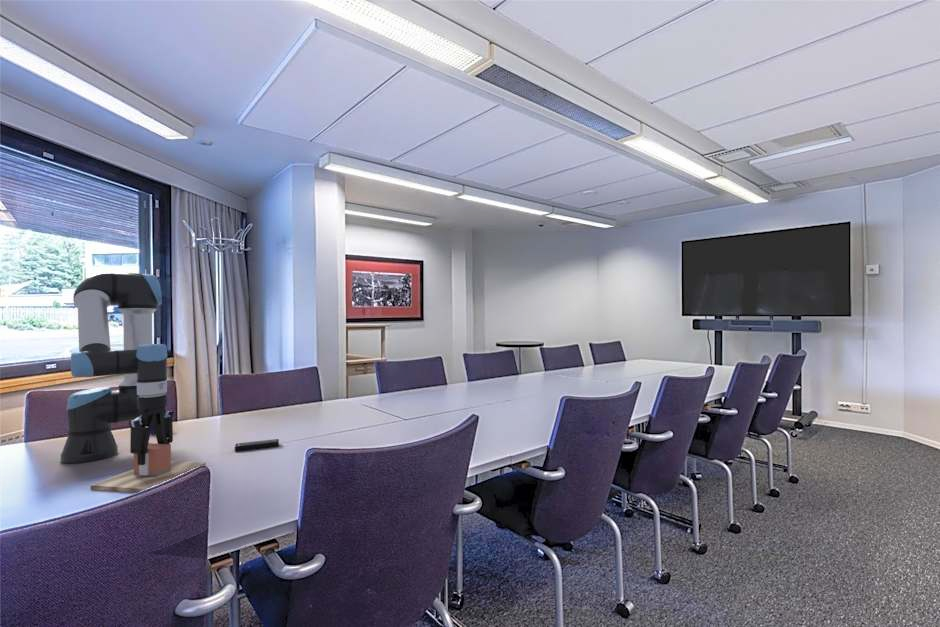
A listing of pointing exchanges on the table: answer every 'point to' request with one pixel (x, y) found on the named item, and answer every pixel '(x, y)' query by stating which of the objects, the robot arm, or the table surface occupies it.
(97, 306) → the robot arm
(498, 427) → the table surface
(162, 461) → the block
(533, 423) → the table surface
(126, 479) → the board
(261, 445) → the multiport hub
